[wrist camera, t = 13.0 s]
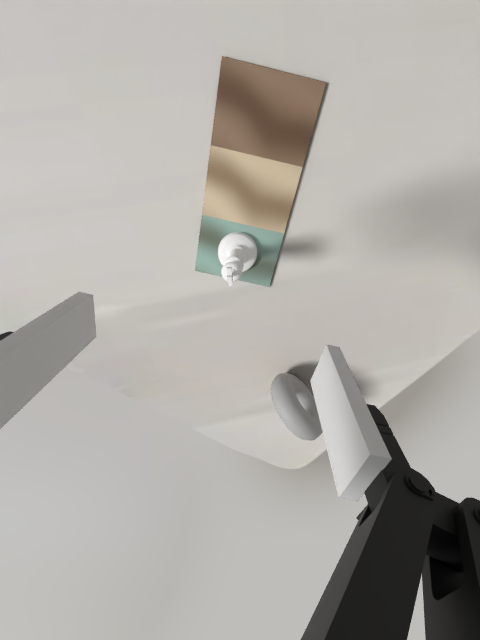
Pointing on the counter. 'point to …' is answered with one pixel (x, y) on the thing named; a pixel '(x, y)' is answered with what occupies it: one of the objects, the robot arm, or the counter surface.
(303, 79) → the track
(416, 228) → the counter surface
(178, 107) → the counter surface
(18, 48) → the counter surface
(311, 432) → the donut
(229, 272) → the chess piece
